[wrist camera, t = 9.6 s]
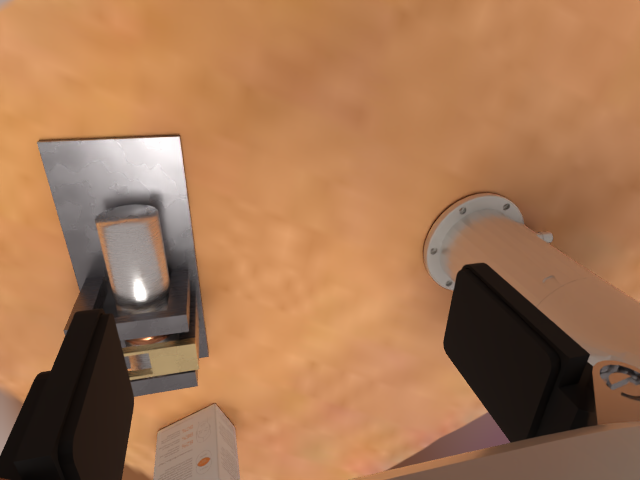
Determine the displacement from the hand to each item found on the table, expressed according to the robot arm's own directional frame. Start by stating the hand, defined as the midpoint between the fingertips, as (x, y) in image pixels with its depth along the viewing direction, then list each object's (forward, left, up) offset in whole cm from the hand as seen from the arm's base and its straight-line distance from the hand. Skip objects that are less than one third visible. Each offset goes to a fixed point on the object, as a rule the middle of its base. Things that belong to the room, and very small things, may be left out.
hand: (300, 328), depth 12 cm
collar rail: (+10, +15, -30) cm, 35 cm away
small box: (+7, +39, -31) cm, 50 cm away
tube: (+10, +17, -30) cm, 35 cm away
